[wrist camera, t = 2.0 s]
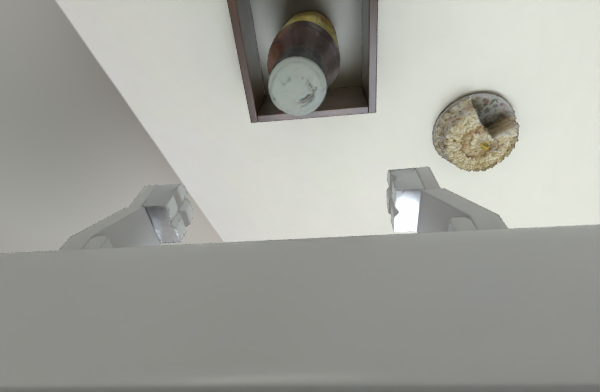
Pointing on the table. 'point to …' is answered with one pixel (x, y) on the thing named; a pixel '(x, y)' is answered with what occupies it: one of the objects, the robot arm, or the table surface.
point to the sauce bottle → (303, 63)
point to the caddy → (337, 98)
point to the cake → (476, 132)
